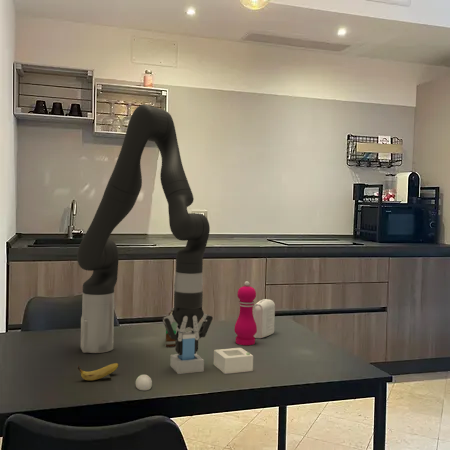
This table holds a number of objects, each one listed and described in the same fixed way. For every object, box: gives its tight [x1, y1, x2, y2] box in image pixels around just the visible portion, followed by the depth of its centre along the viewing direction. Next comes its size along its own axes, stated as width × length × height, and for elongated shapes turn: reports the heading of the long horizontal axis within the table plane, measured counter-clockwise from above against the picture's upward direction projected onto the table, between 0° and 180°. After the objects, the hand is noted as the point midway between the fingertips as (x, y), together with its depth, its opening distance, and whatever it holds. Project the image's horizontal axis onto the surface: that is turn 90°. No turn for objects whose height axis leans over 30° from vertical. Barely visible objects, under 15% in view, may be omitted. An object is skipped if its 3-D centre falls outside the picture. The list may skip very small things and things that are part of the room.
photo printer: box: [253, 298, 276, 339], centre depth 181 cm, size 10×4×12 cm, turn 148°
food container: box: [165, 307, 177, 348], centre depth 168 cm, size 12×6×10 cm, turn 179°
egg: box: [135, 374, 153, 391], centre depth 126 cm, size 4×6×4 cm, turn 16°
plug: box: [179, 330, 196, 360], centre depth 140 cm, size 3×3×9 cm
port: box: [213, 347, 254, 375], centre depth 142 cm, size 8×8×5 cm
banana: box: [77, 362, 120, 381], centre depth 132 cm, size 10×2×4 cm, turn 108°
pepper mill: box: [234, 280, 257, 346], centre depth 170 cm, size 7×7×20 cm
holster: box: [169, 352, 205, 375], centre depth 140 cm, size 7×7×4 cm
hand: (186, 353), depth 140 cm, fingers closed on plug, 3 cm apart
